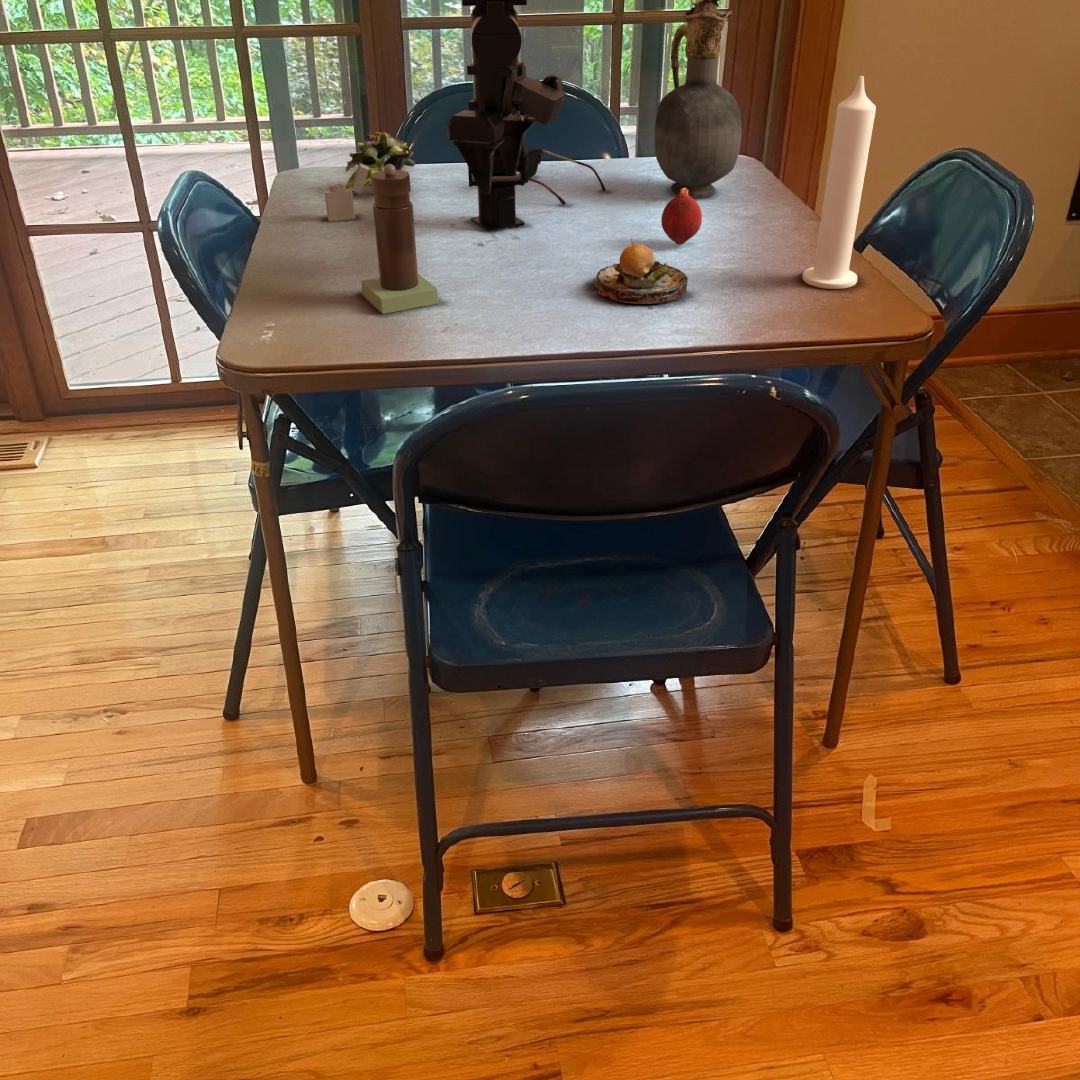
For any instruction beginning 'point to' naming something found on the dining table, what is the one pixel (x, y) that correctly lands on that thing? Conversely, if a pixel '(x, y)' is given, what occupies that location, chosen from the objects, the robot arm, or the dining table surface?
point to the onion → (681, 218)
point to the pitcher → (698, 109)
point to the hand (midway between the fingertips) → (498, 184)
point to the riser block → (399, 295)
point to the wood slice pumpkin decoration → (641, 278)
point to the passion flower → (380, 155)
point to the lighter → (344, 197)
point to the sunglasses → (536, 159)
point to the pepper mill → (394, 229)
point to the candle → (843, 192)
